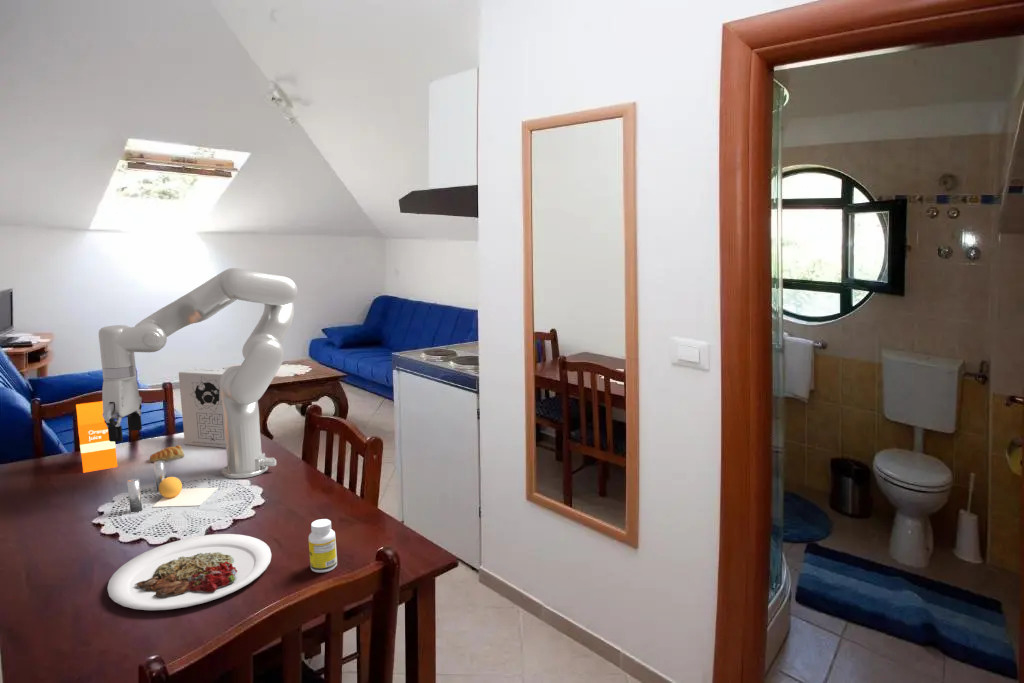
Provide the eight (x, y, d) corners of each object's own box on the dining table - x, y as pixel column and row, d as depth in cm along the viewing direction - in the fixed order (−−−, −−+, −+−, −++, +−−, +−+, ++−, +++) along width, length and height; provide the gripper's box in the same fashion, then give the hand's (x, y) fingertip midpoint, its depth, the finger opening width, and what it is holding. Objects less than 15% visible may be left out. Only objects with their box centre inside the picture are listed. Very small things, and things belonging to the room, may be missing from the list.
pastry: (153, 466, 196) (152, 453, 196) (146, 461, 201) (145, 449, 200) (186, 458, 203) (185, 446, 202) (178, 453, 208) (177, 442, 207)
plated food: (163, 541, 147) (162, 527, 147) (293, 542, 146) (292, 528, 146) (71, 616, 118) (69, 599, 117) (232, 619, 117) (231, 601, 116)
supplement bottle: (313, 561, 137) (310, 517, 135) (339, 560, 137) (337, 516, 136) (307, 574, 132) (304, 529, 130) (334, 572, 132) (332, 527, 131)
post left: (144, 508, 164) (141, 478, 163) (139, 512, 162) (135, 482, 161) (133, 508, 164) (130, 478, 163) (128, 513, 162) (125, 482, 160)
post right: (168, 488, 178) (166, 460, 177) (164, 491, 175) (161, 463, 174) (159, 488, 178) (156, 460, 176) (154, 492, 175) (151, 464, 174)
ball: (180, 473, 175) (157, 476, 172) (182, 478, 170) (158, 481, 167) (181, 493, 175) (158, 496, 172) (183, 498, 170) (159, 502, 168)
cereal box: (255, 442, 218) (249, 370, 214) (240, 449, 211) (235, 374, 207) (200, 438, 223) (194, 367, 219) (184, 444, 216) (177, 371, 212)
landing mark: (218, 488, 178) (218, 487, 177) (200, 506, 166) (199, 505, 166) (173, 489, 177) (173, 488, 177) (152, 507, 165) (151, 506, 165)
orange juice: (117, 467, 195) (111, 402, 192) (82, 472, 190) (75, 407, 187) (116, 459, 201) (109, 397, 198) (82, 465, 196) (75, 401, 193)
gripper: (122, 366, 177) (128, 426, 180) (85, 380, 160) (92, 446, 163) (150, 366, 178) (156, 426, 180) (116, 379, 161) (123, 445, 163)
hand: (126, 435), depth 172 cm, fingers open, 9 cm apart
